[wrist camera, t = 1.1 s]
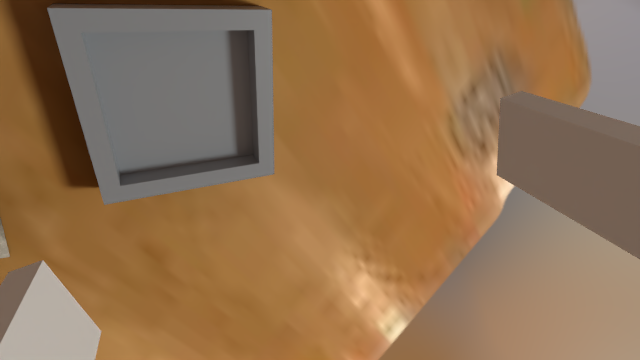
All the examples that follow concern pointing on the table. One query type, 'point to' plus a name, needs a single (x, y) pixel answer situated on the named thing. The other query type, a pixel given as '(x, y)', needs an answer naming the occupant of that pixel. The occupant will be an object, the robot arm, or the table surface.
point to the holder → (170, 93)
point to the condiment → (3, 243)
